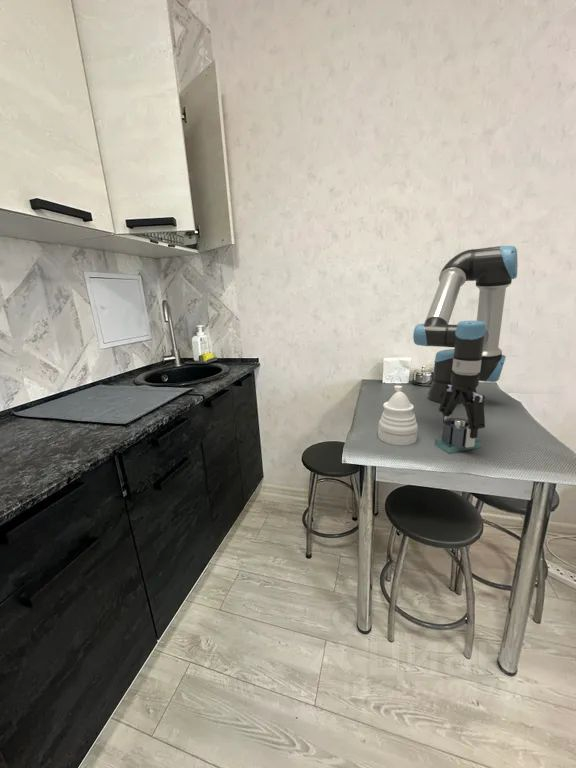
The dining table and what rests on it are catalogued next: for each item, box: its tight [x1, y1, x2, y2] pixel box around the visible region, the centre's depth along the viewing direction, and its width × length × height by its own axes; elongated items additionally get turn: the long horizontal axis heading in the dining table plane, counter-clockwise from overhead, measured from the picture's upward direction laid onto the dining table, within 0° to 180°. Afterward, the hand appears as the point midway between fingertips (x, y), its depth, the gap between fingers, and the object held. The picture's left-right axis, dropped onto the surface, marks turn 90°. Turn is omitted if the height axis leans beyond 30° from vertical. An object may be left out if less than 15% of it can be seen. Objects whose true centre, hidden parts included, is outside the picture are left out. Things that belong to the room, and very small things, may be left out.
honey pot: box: [377, 385, 419, 446], centre depth 108 cm, size 13×13×18 cm
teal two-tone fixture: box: [434, 418, 482, 454], centre depth 101 cm, size 12×6×9 cm, turn 104°
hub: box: [441, 417, 475, 447], centre depth 101 cm, size 9×9×6 cm
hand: (457, 440), depth 102 cm, fingers closed on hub, 9 cm apart
